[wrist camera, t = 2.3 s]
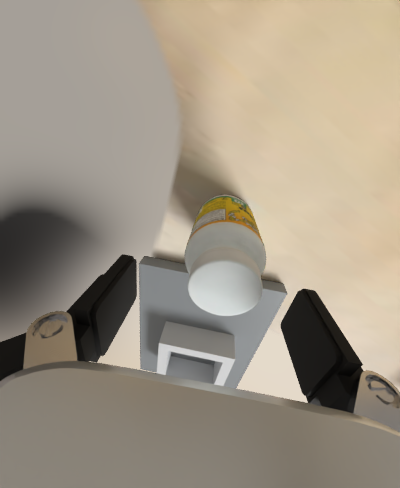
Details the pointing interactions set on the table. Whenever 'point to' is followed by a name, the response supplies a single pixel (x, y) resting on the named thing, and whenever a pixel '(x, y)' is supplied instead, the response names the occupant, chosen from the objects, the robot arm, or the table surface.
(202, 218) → the supplement bottle
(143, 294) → the socket holder
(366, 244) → the table surface
